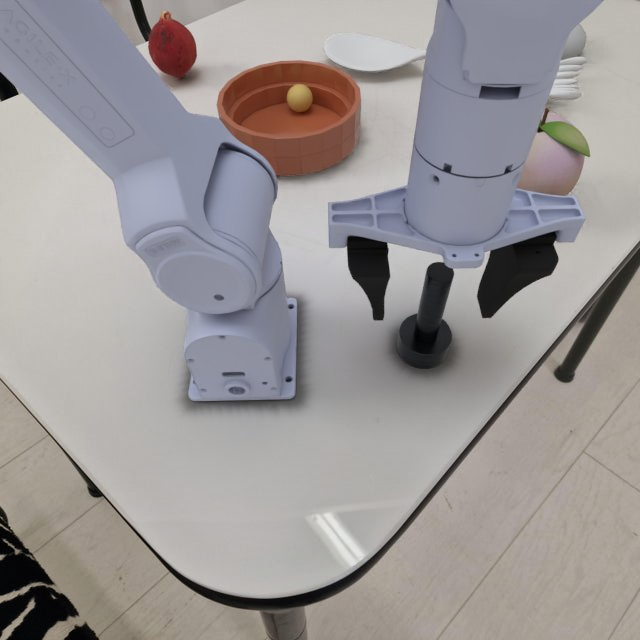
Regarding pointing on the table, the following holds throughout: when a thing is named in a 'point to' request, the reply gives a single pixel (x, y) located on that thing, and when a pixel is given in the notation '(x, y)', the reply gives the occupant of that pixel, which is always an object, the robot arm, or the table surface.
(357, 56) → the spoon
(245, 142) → the bowl
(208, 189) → the robot arm
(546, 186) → the decorative fruit
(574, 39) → the donut
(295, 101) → the ball
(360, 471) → the table surface
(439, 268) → the black joystick
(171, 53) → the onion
